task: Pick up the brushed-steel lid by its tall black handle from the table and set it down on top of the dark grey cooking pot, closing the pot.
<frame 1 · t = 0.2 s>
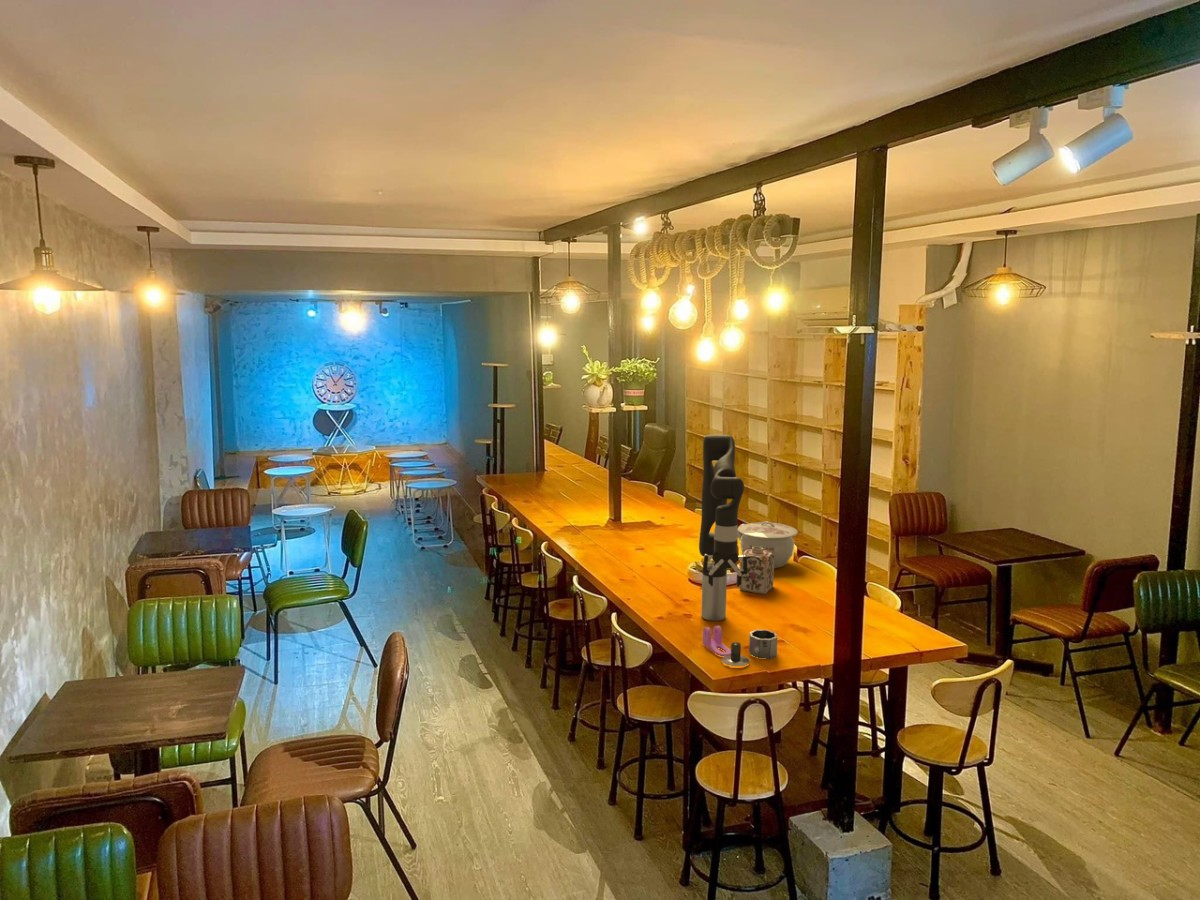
hand: (724, 585, 271), 28 cm above the table, fingers open, 8 cm apart
decorative jar: (756, 589, 352), on the table
lid: (735, 663, 277), on the table
chamber pot: (766, 564, 386), on the table
bracket: (718, 651, 288), on the table
pot: (762, 653, 285), on the table
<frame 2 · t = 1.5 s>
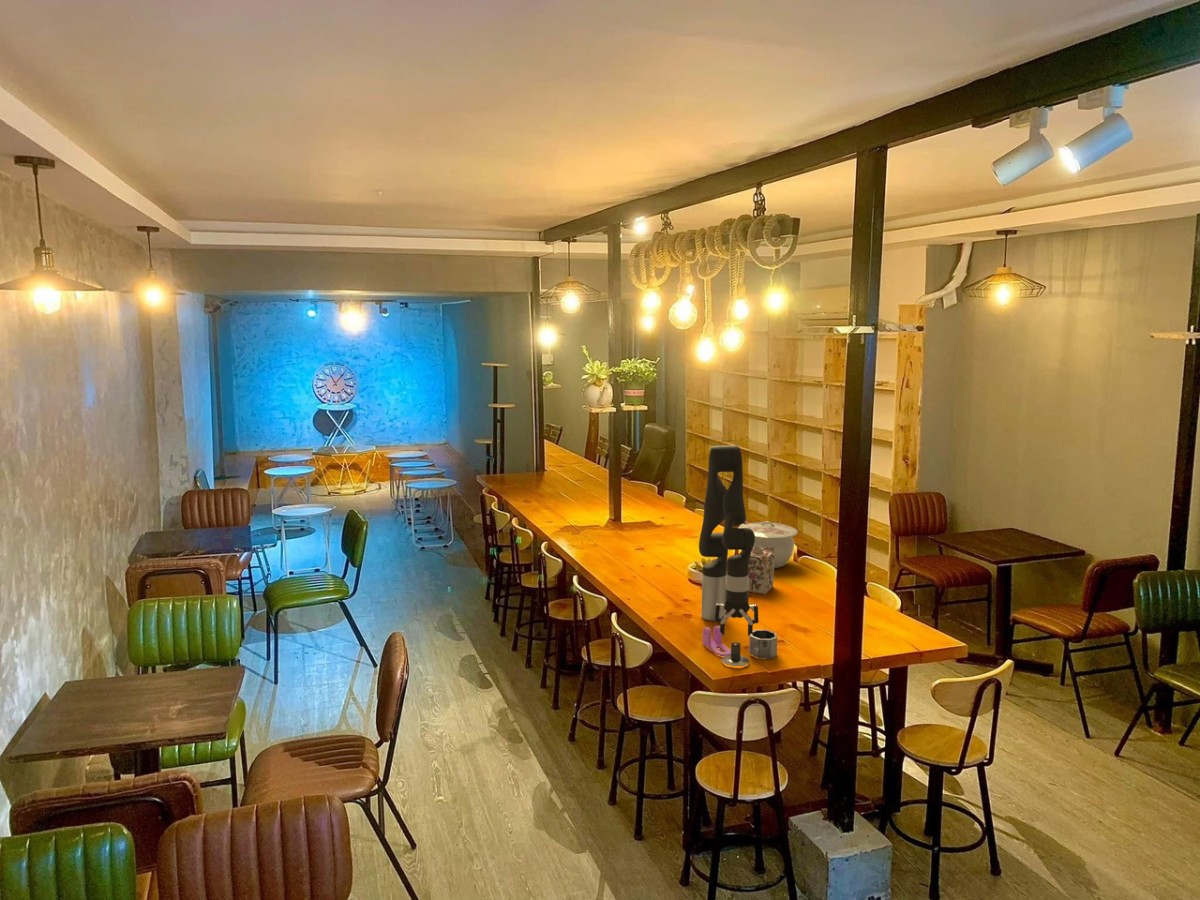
hand: (736, 634, 276), 10 cm above the table, fingers open, 8 cm apart
nothing on the table moved.
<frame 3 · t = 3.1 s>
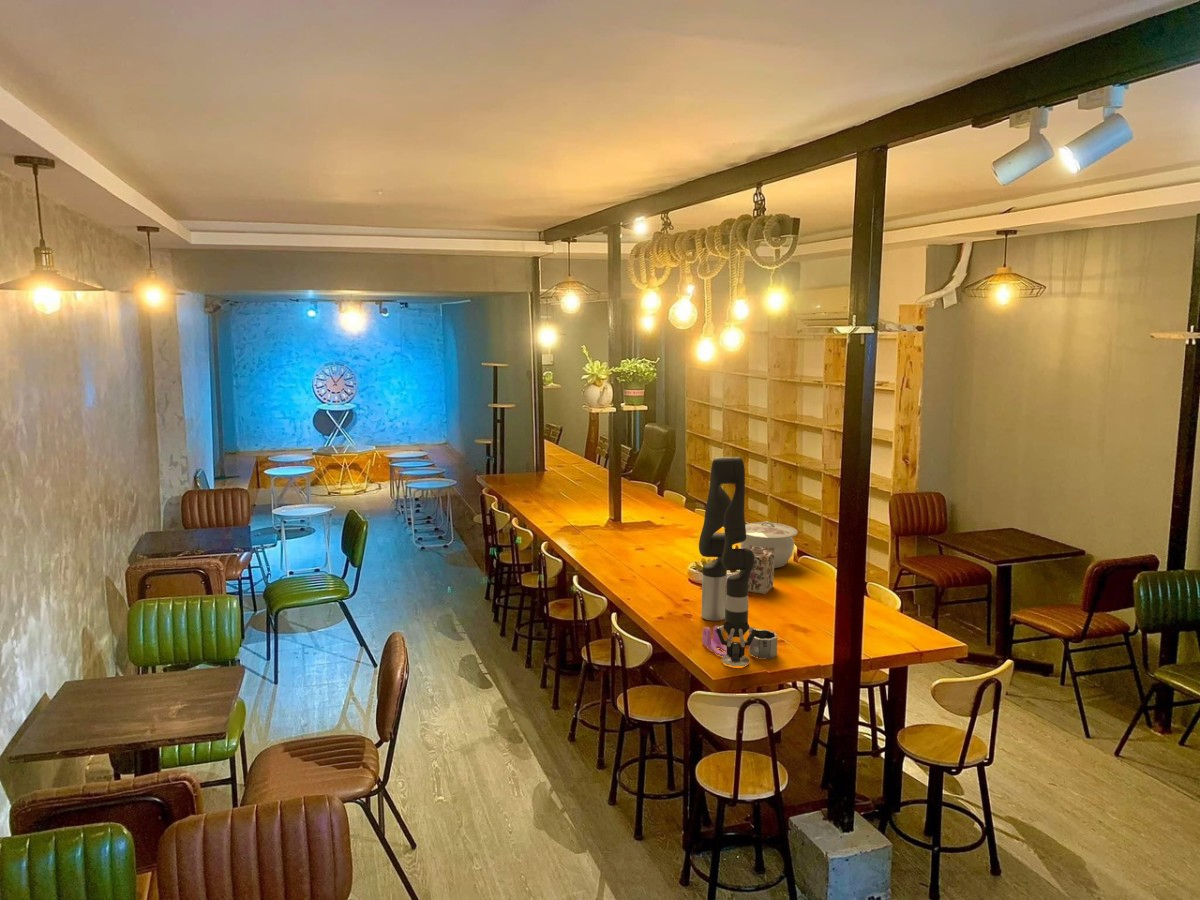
hand: (735, 656, 277), 2 cm above the table, fingers closed on lid, 3 cm apart
lid: (735, 662, 277), on the table, touching gripper
everything else where it was.
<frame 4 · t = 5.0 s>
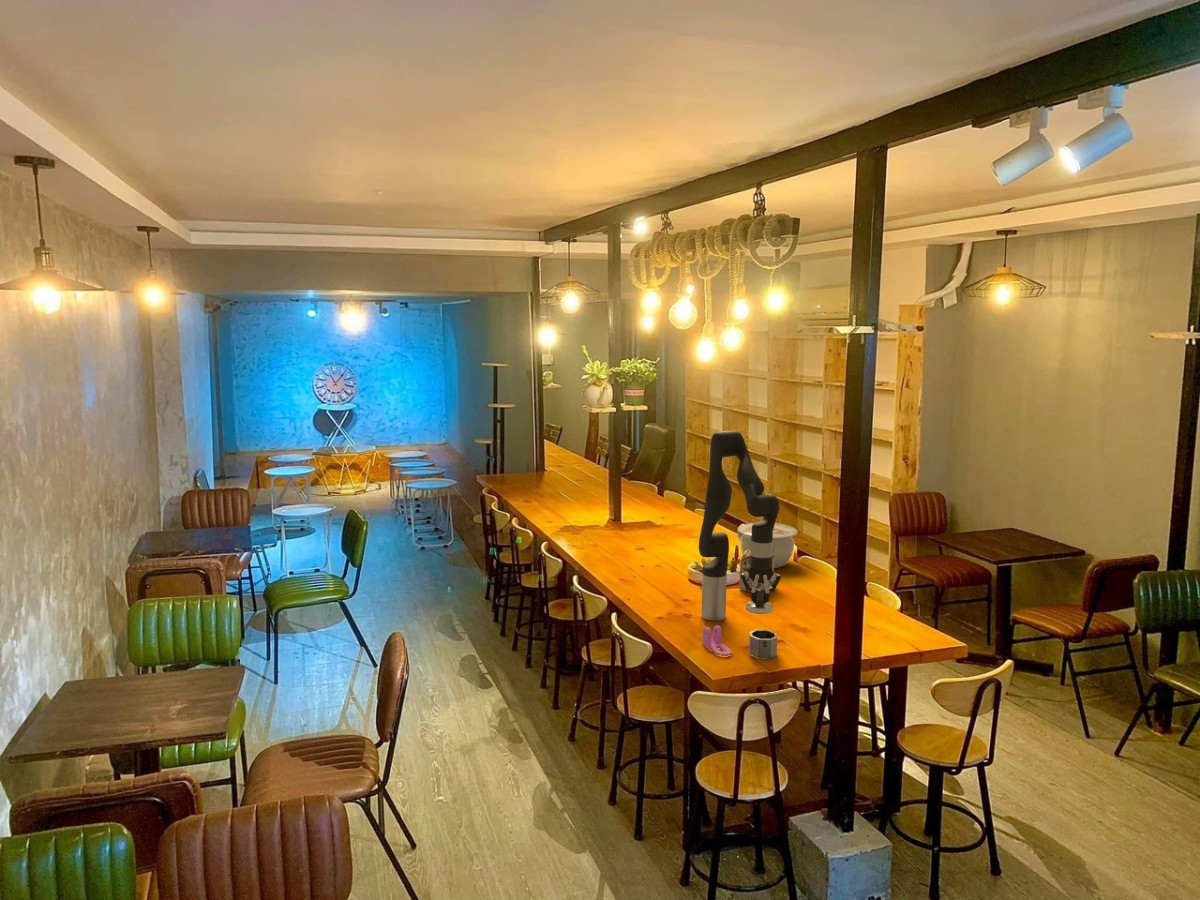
hand: (759, 602, 281), 19 cm above the table, fingers closed on lid, 3 cm apart
lid: (759, 609, 281), point 17 cm above the table, touching gripper
everything else where it was.
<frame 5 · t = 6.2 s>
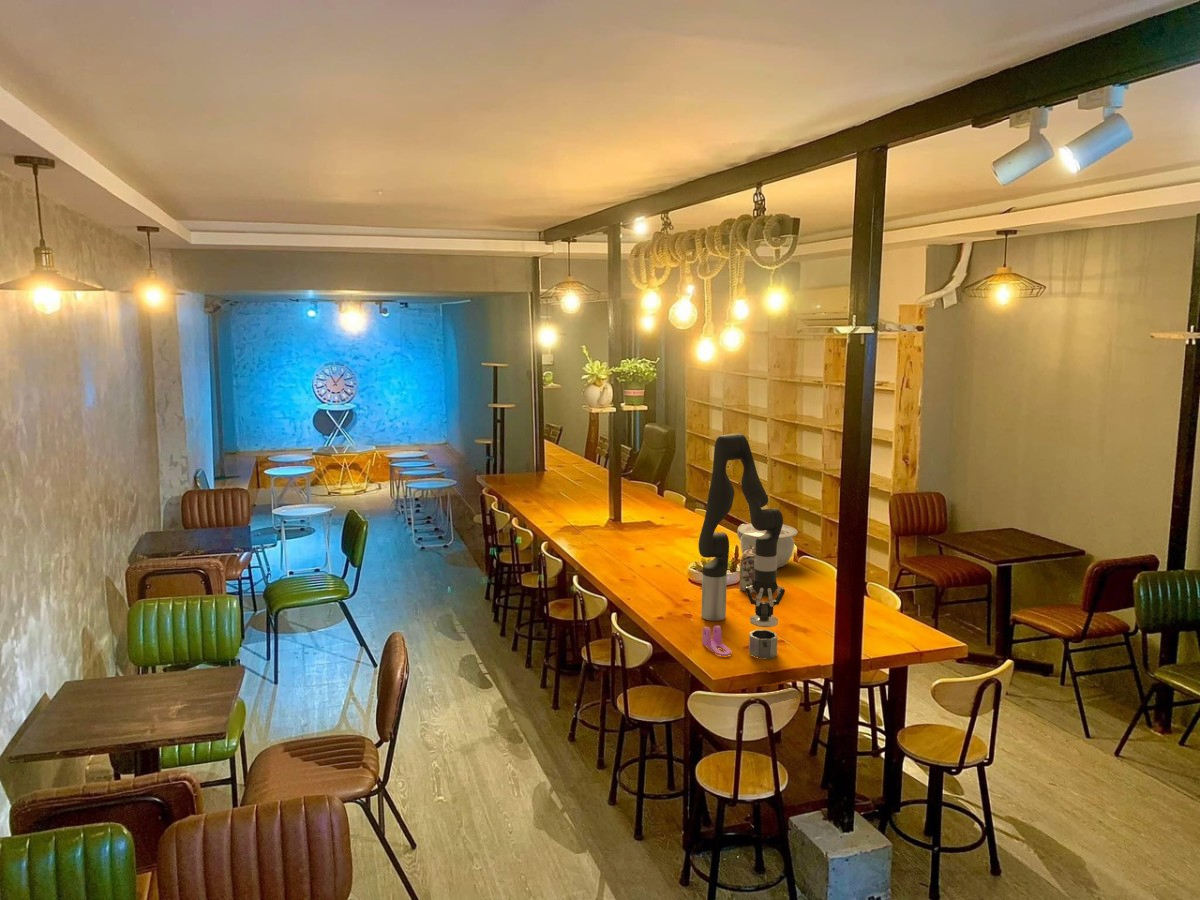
hand: (763, 615, 282), 14 cm above the table, fingers closed on lid, 3 cm apart
lid: (763, 622, 283), point 11 cm above the table, touching gripper
everything else where it was.
when the fingers open (11 cm above the table, at t = 7.1 s): lid drops 1 cm, resting on pot.
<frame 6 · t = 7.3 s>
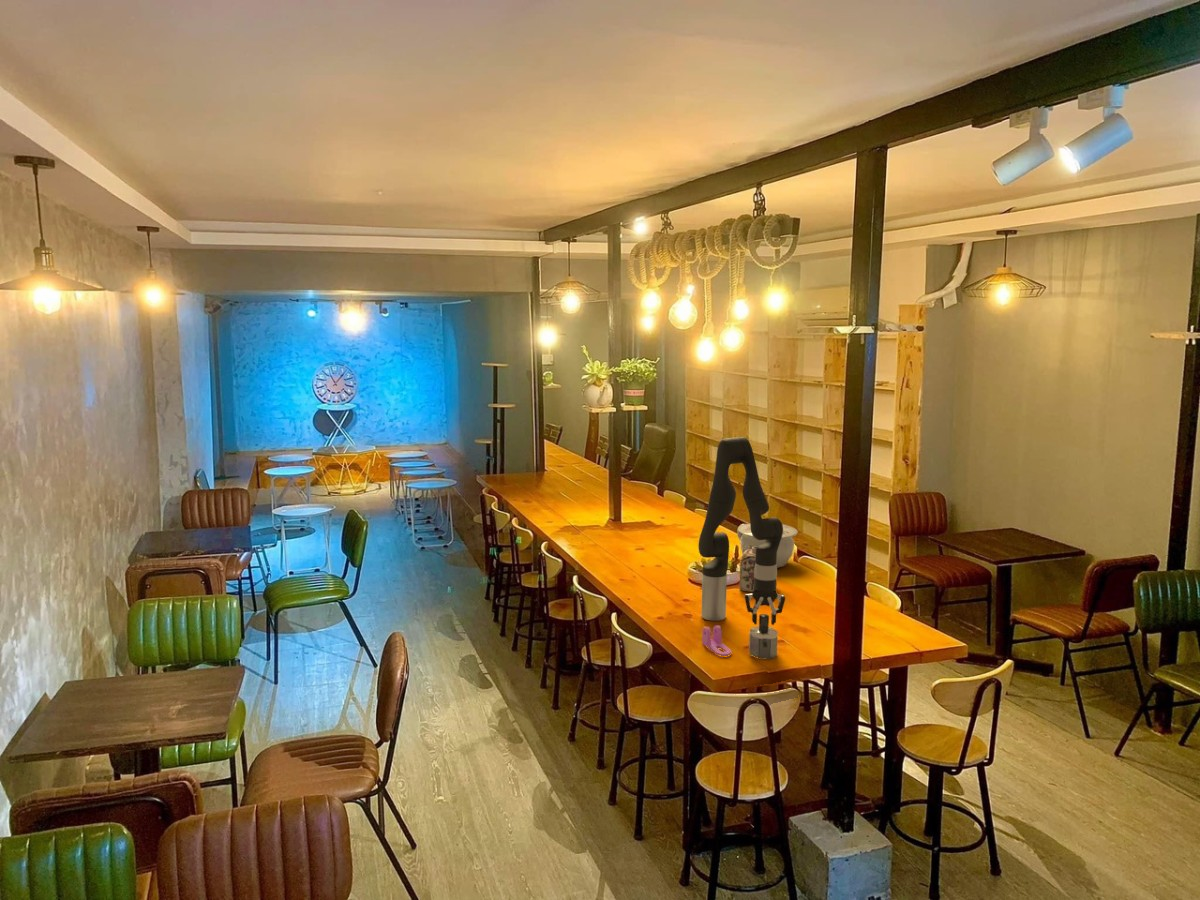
hand: (763, 623, 283), 11 cm above the table, fingers open, 5 cm apart
lid: (763, 634, 283), point 7 cm above the table, touching pot
everything else where it was.
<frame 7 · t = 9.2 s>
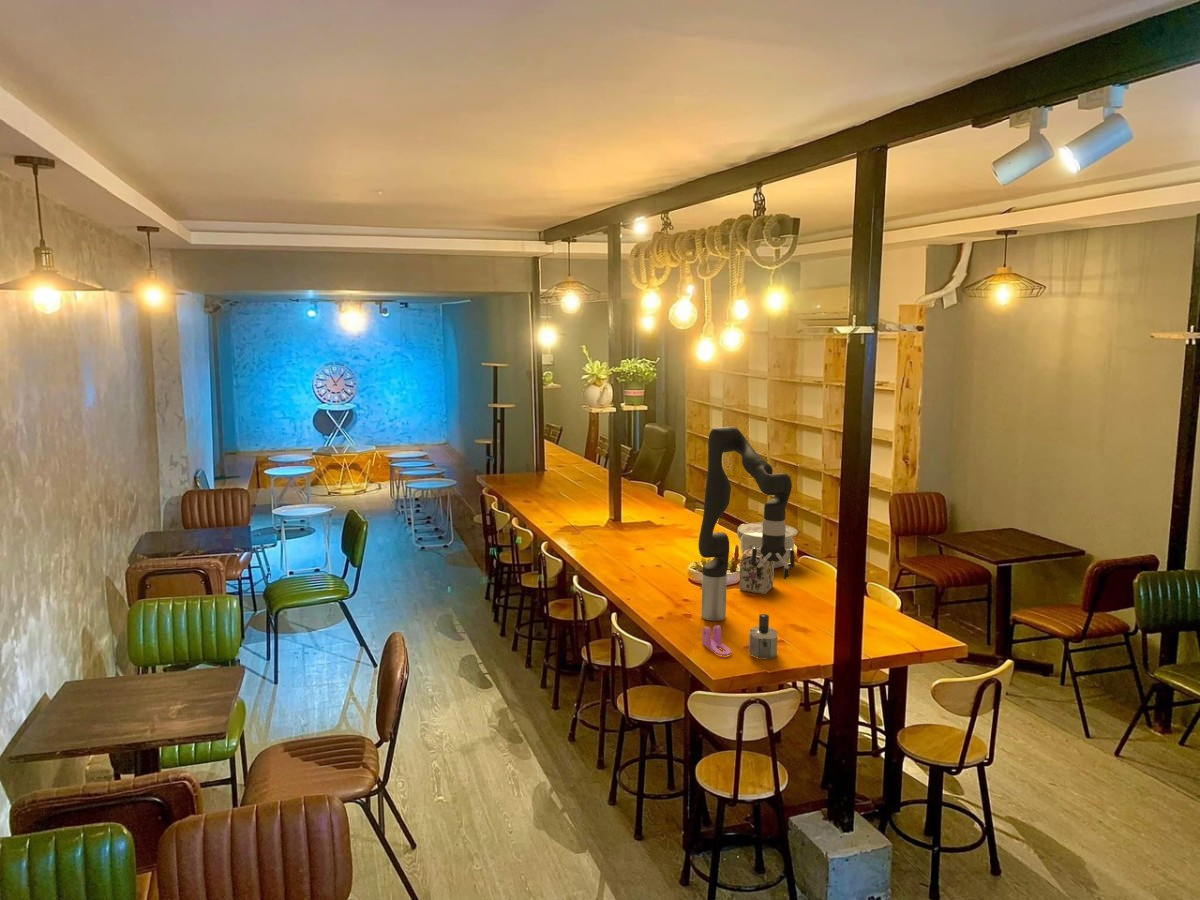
hand: (772, 577, 282), 26 cm above the table, fingers open, 8 cm apart
nothing on the table moved.
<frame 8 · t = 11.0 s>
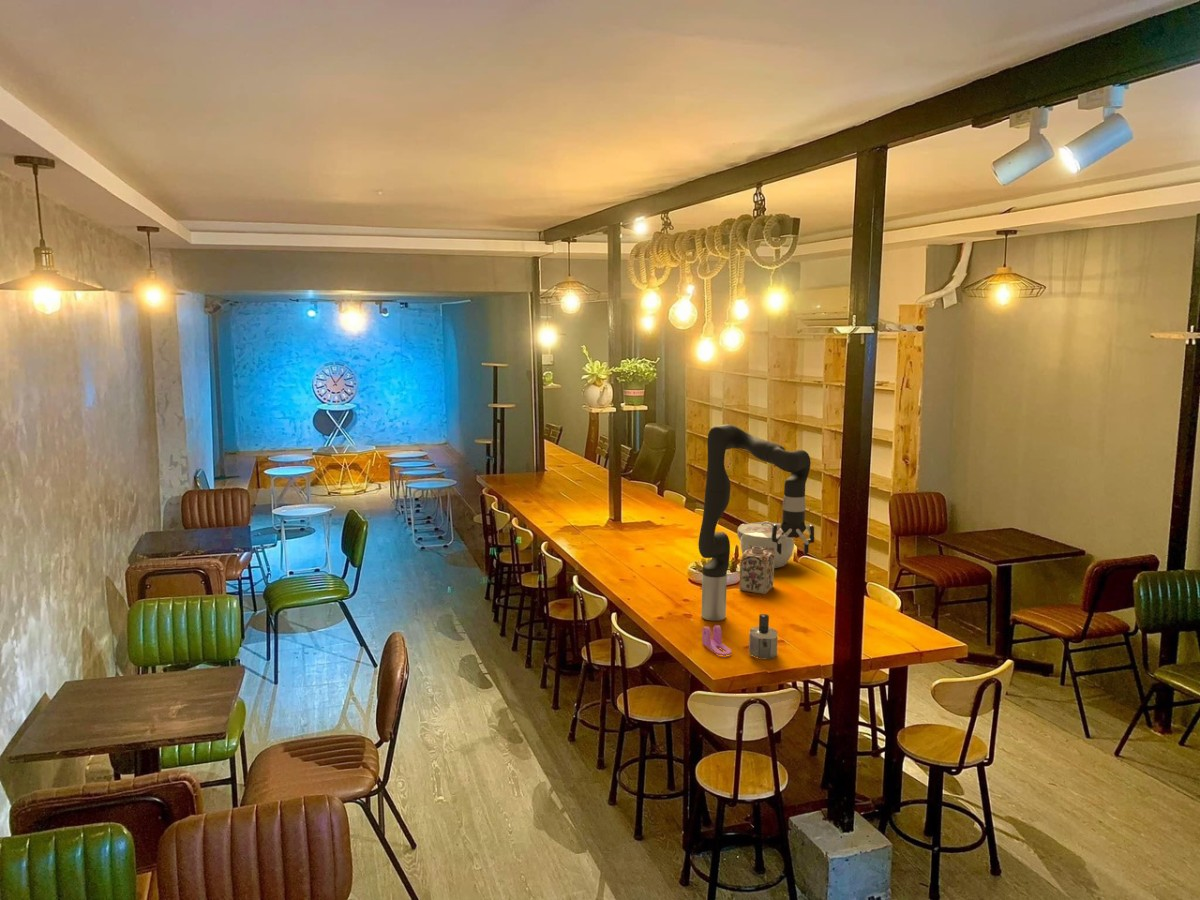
hand: (792, 553, 287), 33 cm above the table, fingers open, 8 cm apart
nothing on the table moved.
at the end: lid 0.1 cm off-centre on the pot, point 7.0 cm above the pot's base; lid tilted 0°; the gripper is holding nothing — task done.
